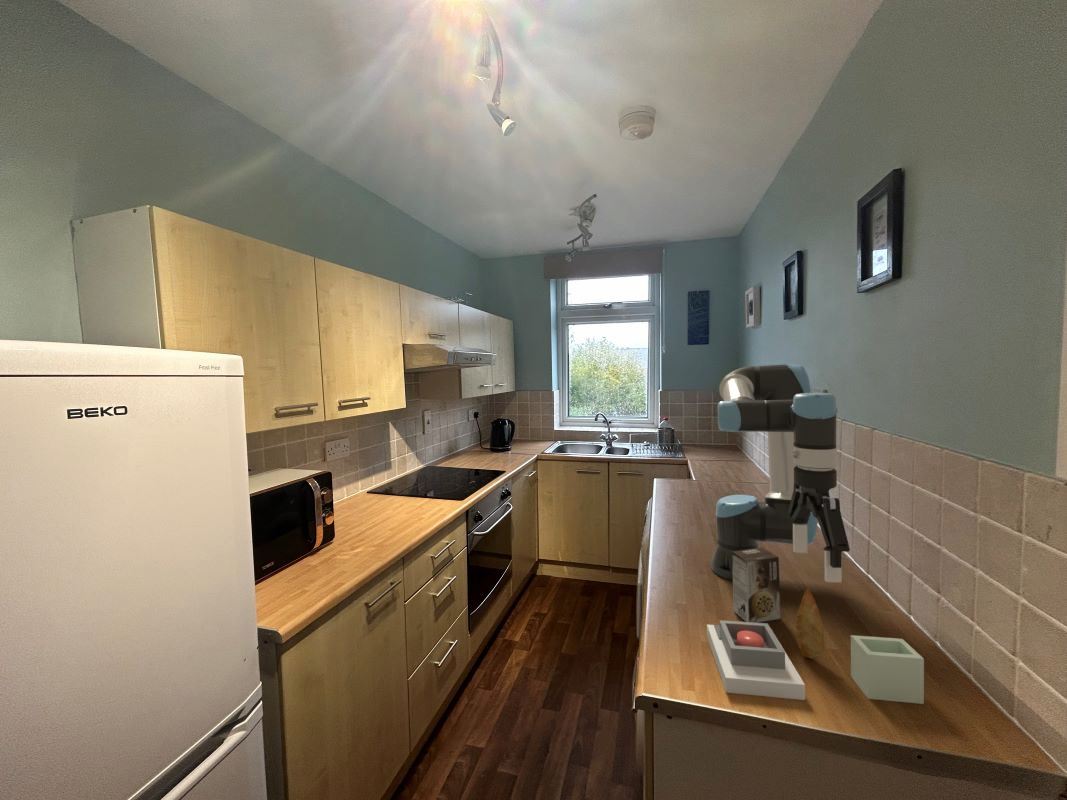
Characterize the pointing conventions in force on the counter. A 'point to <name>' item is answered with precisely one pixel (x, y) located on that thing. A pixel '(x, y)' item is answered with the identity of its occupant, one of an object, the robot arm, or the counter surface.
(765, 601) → the coffee box
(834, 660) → the counter surface
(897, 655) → the box
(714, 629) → the panel
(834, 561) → the robot arm
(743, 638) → the pink dome
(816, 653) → the stone tool
